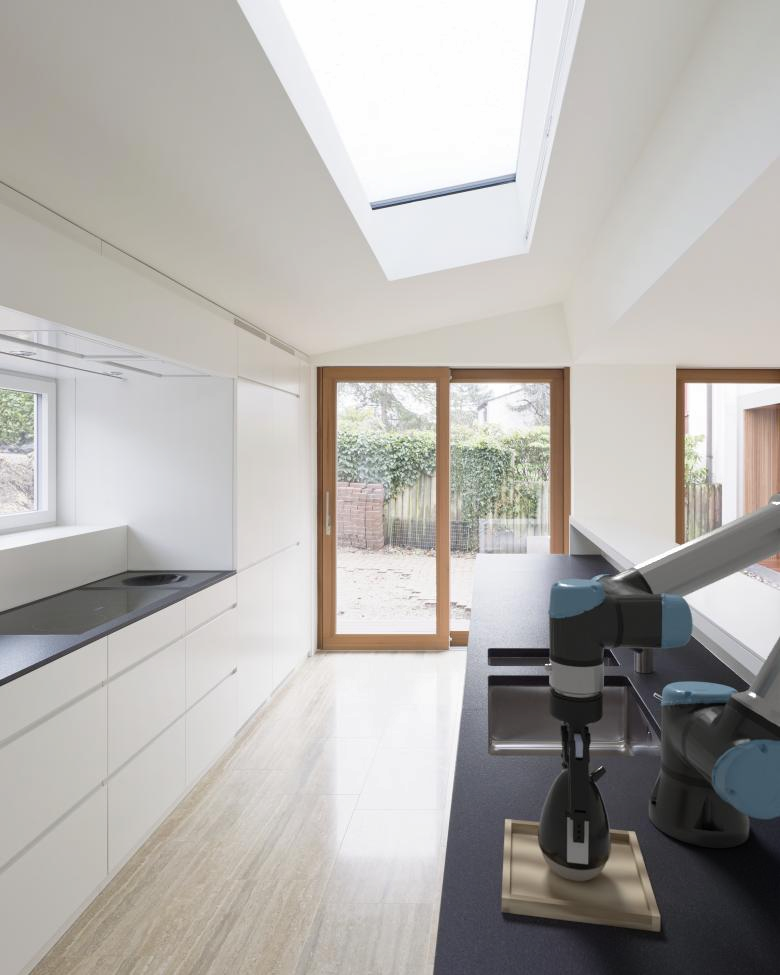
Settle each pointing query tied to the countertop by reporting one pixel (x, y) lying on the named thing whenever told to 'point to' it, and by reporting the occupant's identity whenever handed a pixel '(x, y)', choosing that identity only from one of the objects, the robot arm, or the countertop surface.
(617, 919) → the birch tray
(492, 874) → the countertop surface
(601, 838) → the pump dispenser
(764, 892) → the countertop surface
